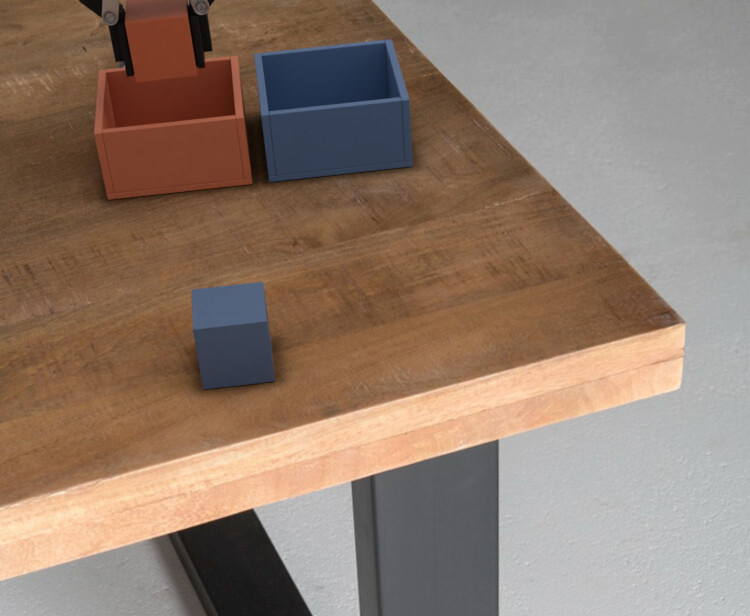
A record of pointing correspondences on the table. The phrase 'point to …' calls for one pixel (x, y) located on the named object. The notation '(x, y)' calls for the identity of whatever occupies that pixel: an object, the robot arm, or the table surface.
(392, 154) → the blue bin
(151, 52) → the terracotta block
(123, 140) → the terracotta bin
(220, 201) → the table surface
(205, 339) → the blue block
